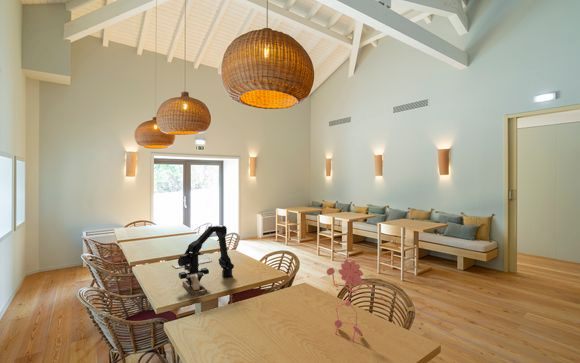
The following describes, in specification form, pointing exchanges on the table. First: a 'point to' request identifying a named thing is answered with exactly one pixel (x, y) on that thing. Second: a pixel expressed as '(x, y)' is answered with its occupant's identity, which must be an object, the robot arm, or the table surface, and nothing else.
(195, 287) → the clay strip
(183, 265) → the robot arm
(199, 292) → the frame
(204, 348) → the table surface
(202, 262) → the baseboard molding
